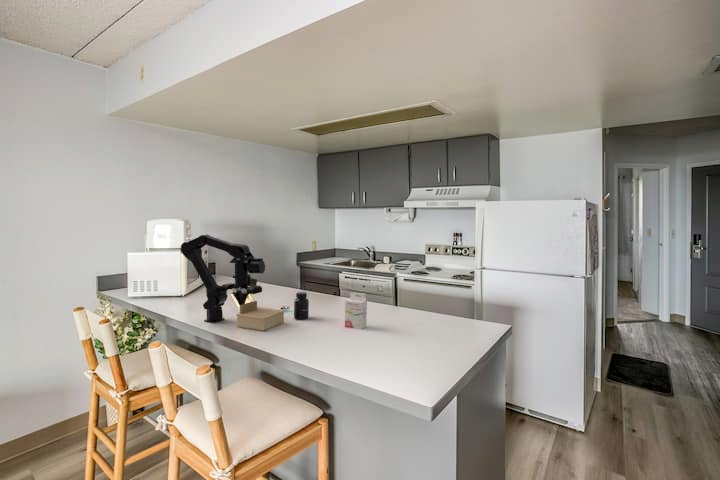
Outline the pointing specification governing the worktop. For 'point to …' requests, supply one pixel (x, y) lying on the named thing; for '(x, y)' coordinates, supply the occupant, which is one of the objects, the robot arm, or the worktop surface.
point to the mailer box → (260, 322)
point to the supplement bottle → (301, 306)
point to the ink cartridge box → (356, 311)
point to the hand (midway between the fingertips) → (242, 307)
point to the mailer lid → (257, 311)
